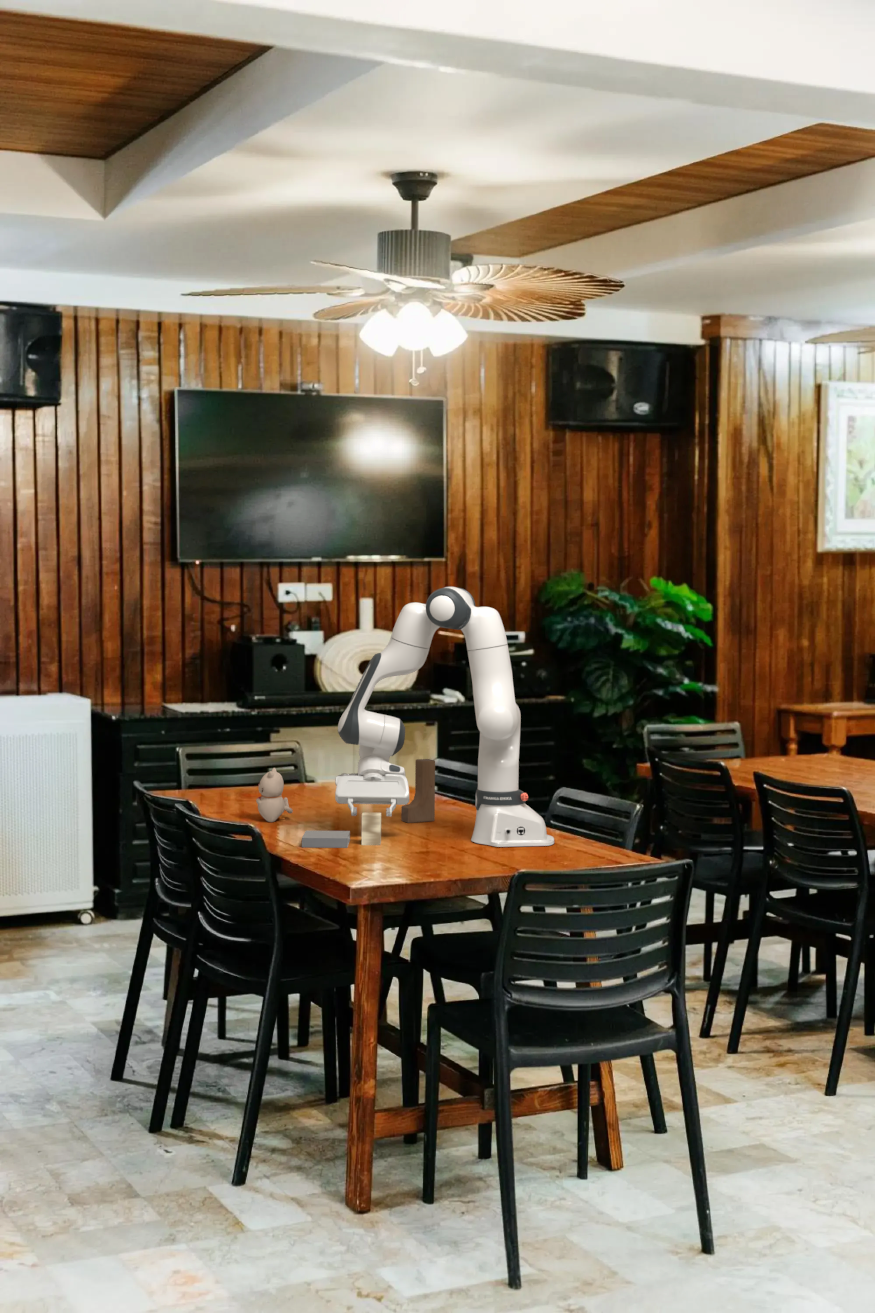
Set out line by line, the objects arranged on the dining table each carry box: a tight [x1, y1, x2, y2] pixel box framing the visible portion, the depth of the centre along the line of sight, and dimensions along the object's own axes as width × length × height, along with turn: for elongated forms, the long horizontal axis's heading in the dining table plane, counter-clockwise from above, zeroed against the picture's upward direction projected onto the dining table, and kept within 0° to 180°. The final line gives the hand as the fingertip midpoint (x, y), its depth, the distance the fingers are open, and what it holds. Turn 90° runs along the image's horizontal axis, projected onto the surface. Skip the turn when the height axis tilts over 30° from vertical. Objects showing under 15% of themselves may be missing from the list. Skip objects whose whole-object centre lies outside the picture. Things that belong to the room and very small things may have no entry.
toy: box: [255, 767, 294, 823], centre depth 449 cm, size 12×10×15 cm
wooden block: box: [400, 758, 436, 824], centre depth 449 cm, size 9×4×18 cm, turn 118°
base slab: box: [301, 830, 351, 849], centre depth 409 cm, size 12×12×2 cm
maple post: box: [361, 812, 382, 846], centre depth 410 cm, size 5×5×8 cm
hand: (371, 814), depth 413 cm, fingers open, 8 cm apart
